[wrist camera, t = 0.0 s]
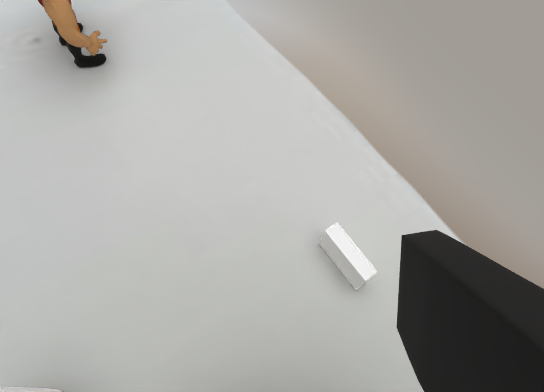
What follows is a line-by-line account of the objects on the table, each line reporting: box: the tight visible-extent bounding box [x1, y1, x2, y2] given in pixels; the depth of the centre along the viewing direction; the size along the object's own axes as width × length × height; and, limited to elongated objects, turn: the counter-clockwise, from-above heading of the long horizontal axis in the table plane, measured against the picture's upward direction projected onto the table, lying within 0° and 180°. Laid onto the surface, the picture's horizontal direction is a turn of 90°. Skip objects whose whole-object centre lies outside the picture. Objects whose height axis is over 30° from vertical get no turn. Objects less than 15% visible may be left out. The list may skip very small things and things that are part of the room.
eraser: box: [319, 222, 377, 290], centre depth 41 cm, size 1×5×4 cm, turn 37°
